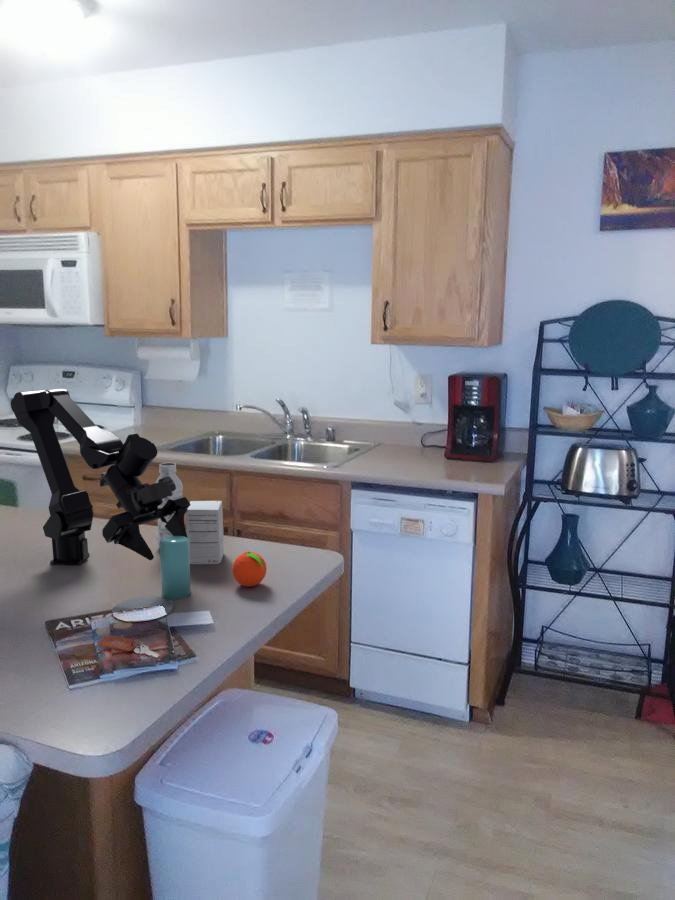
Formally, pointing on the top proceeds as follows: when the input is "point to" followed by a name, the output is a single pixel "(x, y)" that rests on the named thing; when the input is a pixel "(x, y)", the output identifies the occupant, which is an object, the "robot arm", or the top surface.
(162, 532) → the plastic bottle
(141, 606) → the coaster
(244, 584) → the clementine
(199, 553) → the supplement box
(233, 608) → the top surface
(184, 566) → the cylinder
